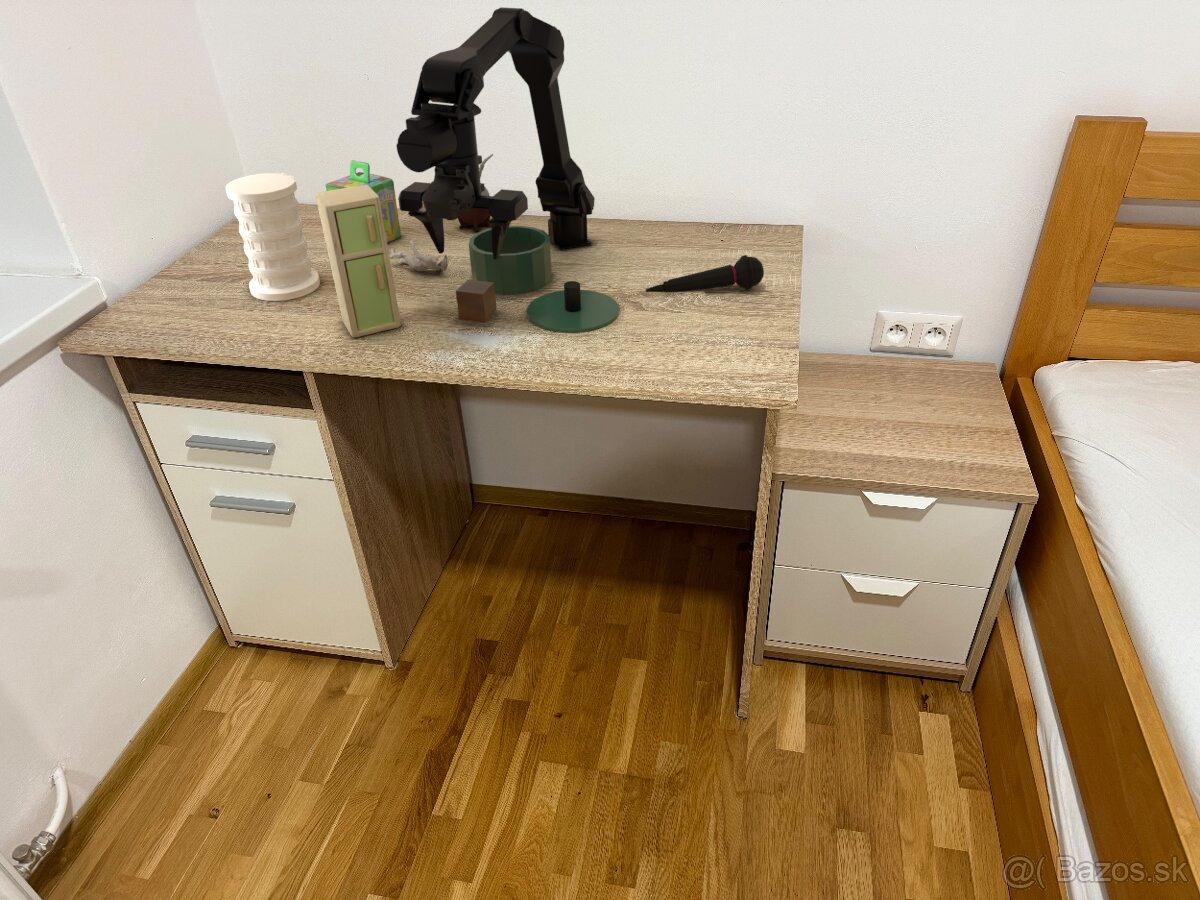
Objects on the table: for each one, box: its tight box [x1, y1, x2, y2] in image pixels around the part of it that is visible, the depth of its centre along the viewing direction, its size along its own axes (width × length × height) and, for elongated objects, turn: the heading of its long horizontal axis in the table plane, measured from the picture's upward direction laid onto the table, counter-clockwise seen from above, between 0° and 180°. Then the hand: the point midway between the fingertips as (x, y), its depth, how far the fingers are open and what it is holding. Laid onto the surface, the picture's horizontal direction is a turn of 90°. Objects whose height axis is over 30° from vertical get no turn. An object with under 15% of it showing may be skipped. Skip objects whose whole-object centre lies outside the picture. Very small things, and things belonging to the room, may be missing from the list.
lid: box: [526, 280, 620, 334], centre depth 137 cm, size 15×15×5 cm
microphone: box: [645, 254, 765, 293], centre depth 145 cm, size 6×6×20 cm
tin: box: [468, 225, 553, 296], centre depth 148 cm, size 14×14×8 cm
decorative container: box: [225, 172, 321, 302], centre depth 145 cm, size 12×12×18 cm
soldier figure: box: [389, 240, 449, 273], centre depth 153 cm, size 8×5×12 cm
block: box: [455, 279, 498, 324], centre depth 137 cm, size 5×5×5 cm
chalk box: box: [325, 160, 402, 244], centre depth 163 cm, size 9×9×15 cm
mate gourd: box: [457, 153, 494, 234], centre depth 168 cm, size 8×8×15 cm
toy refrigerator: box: [315, 185, 402, 339], centre depth 131 cm, size 8×7×21 cm
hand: (468, 255), depth 133 cm, fingers open, 9 cm apart
